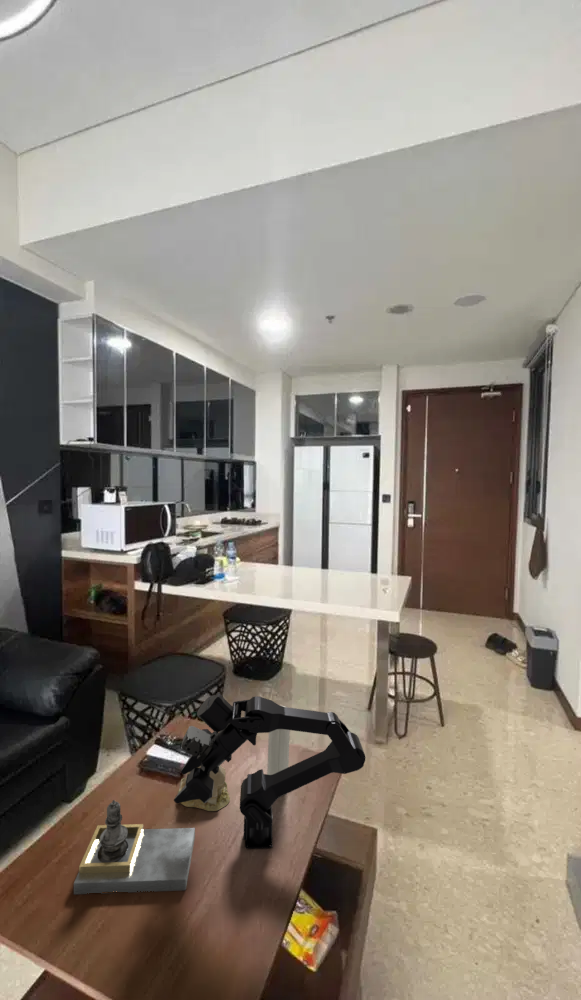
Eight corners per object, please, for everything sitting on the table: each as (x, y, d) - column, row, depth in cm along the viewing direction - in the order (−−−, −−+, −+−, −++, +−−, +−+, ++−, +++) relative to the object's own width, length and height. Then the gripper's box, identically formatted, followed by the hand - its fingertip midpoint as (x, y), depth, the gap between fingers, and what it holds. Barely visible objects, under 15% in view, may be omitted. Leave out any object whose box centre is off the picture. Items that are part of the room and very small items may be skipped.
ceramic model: (231, 780, 123) (232, 747, 123) (228, 812, 112) (229, 775, 111) (181, 781, 122) (182, 748, 121) (174, 813, 111) (174, 777, 110)
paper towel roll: (275, 771, 128) (278, 702, 126) (292, 780, 124) (294, 709, 122) (260, 785, 122) (262, 713, 120) (276, 795, 118) (279, 721, 117)
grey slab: (194, 837, 104) (195, 822, 104) (185, 890, 91) (186, 872, 91) (97, 840, 102) (97, 824, 102) (73, 894, 89) (73, 876, 89)
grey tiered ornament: (109, 866, 93) (109, 814, 92) (94, 852, 96) (93, 802, 95) (133, 847, 98) (133, 797, 97) (117, 834, 101) (117, 786, 100)
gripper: (207, 697, 111) (163, 739, 111) (197, 744, 92) (144, 794, 92) (237, 726, 112) (193, 767, 112) (233, 778, 93) (181, 827, 93)
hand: (178, 786), depth 102 cm, fingers open, 9 cm apart
